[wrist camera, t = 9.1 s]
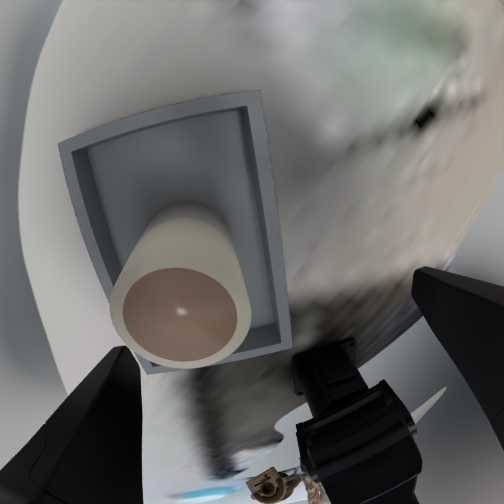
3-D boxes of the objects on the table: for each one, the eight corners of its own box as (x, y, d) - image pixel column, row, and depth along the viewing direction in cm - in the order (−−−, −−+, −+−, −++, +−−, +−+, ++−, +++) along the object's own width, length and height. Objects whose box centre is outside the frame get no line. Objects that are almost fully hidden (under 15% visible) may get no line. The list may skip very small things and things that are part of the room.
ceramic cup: (239, 275, 20) (261, 356, 12) (158, 291, 19) (141, 376, 12) (223, 192, 17) (237, 238, 10) (132, 212, 17) (87, 271, 9)
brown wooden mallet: (310, 481, 32) (252, 506, 29) (314, 499, 36) (268, 519, 34) (290, 453, 38) (237, 475, 36) (299, 476, 43) (255, 494, 40)
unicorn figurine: (331, 481, 48) (346, 522, 36) (278, 480, 41) (293, 533, 29) (354, 469, 47) (372, 510, 35) (306, 467, 40) (325, 523, 28)
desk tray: (283, 324, 23) (292, 347, 20) (151, 349, 22) (147, 374, 19) (250, 96, 16) (259, 89, 13) (78, 140, 15) (57, 143, 12)
